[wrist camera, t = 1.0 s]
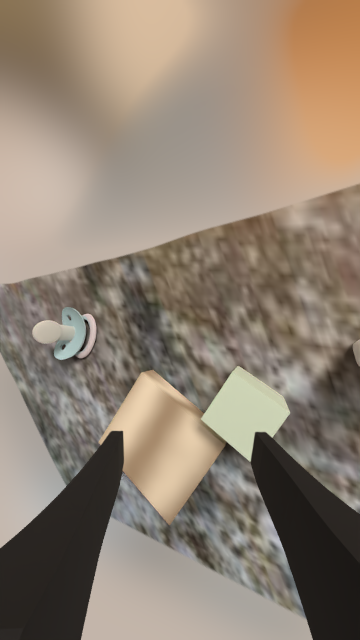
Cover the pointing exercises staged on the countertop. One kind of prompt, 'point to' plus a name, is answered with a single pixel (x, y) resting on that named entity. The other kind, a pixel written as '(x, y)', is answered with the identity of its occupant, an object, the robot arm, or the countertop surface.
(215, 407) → the green cube
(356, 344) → the eye dropper bottle
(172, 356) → the countertop surface
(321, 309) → the countertop surface
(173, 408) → the block
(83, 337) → the pacifier
